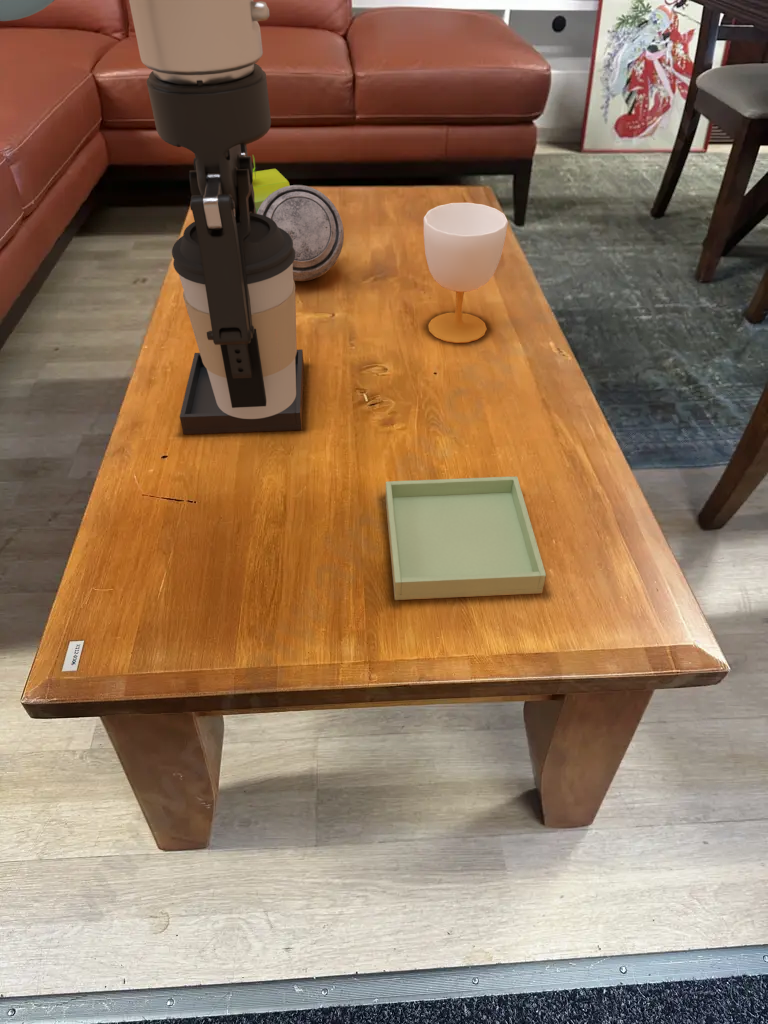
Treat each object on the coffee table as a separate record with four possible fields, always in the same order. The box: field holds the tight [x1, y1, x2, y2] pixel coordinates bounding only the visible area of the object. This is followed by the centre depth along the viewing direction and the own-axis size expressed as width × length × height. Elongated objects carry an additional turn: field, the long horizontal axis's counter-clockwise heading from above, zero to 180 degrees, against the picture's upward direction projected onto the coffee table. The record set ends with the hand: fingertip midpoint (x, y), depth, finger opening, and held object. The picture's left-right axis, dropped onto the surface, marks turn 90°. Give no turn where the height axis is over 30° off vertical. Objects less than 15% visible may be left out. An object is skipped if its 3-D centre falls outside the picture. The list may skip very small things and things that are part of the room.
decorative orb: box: [257, 184, 345, 282], centre depth 121 cm, size 15×14×15 cm
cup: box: [423, 202, 509, 344], centre depth 108 cm, size 12×12×17 cm
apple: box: [252, 155, 291, 214], centre depth 132 cm, size 11×10×15 cm
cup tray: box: [385, 475, 547, 601], centre depth 79 cm, size 15×15×3 cm
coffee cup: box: [171, 213, 298, 419], centre depth 58 cm, size 9×9×15 cm
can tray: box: [179, 348, 305, 435], centre depth 99 cm, size 15×15×3 cm
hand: (253, 372), depth 62 cm, fingers closed on coffee cup, 8 cm apart
